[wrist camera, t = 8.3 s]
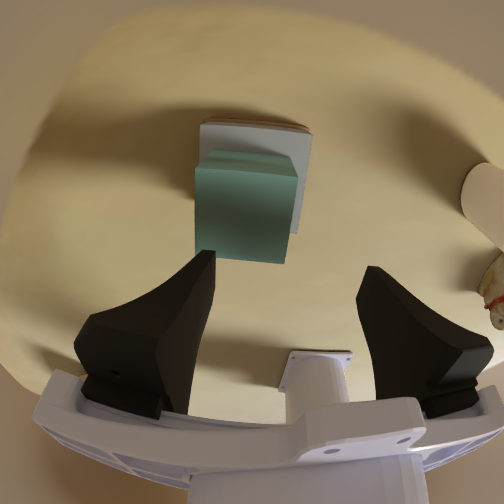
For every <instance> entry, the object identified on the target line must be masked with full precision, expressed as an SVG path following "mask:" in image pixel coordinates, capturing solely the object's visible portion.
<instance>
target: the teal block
mask: <svg viewBox="0 0 504 504" xmlns="http://www.w3.org/2000/svg"><path fill="white" fill-rule="evenodd" d="M298 178H299V177H298V175H297V173H296V170H295V168H294V165H293V163H292V161H291V158H290V157H288V156H279V155H270V154H261V153H250V152H238V151H224V150H212V151H211V152H210V153H209V154H208V155H207V156H206V157H205V158H204V159H203V160H202V161H201V163H200V164H199V165H198V166H197V167H196V168H195V255H197V254H198V253H199V252H200V251H201V250H203V249H204V250H214V251H216V258H225V259H236V260H246V261H256V262H267V263H277V264H284V262H285V257H286V251H287V245H288V240H289V234H290V228H291V222H292V216H293V210H294V203H295V197H296V191H297V184H298Z"/></svg>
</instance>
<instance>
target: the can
mask: <svg viewBox="0 0 504 504" xmlns="http://www.w3.org/2000/svg"><path fill="white" fill-rule="evenodd" d="M461 206H462V210H463V213H464V215H465V217H466V218H467V219H468V220H469V221H470V222H471V223H472V224H473V225H474V226H475V227H476V228H478V229H479V230H480V231H481V232H482V233H483V234H484V235H485V236H486V237H488V238H489V239H490V240H491V241H492V242H493V243H494V244H495V245H496V246H497V247H498V248H499V249H500V250H501V251H502V252H503V253H504V170H503V169H501V168H499V167H497V166H495V165H492V164H490V163H480V164H478V165H477V166H475V167H474V168H473V169H472V170H471V171H470V172H469V173H468V175H467V177H466V178H465V181H464V183H463V186H462V191H461Z"/></svg>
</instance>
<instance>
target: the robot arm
mask: <svg viewBox="0 0 504 504" xmlns="http://www.w3.org/2000/svg"><path fill="white" fill-rule="evenodd" d="M215 270H216V251H214V250H204V249H203V250H201V251H200V252H199V253H198V254H197V255H196V256H195V257H194V258H193V259H192V260H191V261H189V262H188V263H187V264H186V265H185V266H184V267H183V268H182V269H181V270H179V271H178V272H177V273H176V274H175V275H173V276H172V277H171V278H169V279H168V280H167V281H166V282H164V283H163V284H161V285H160V286H158V287H157V288H155V289H153V290H152V291H150V292H148V293H146V294H144V295H142V296H140V297H139V298H137V299H135V300H133V301H130V302H128V303H126V304H123V305H121V306H118V307H115V308H112V309H109V310H106V311H102V312H99V313H96V314H92V315H90V316H89V318H88V319H87V321H86V322H85V324H84V325H83V327H82V329H81V330H80V332H79V334H78V335H77V337H76V339H75V341H74V349H75V352H76V354H77V356H78V358H79V360H80V362H81V364H82V365H83V367H84V369H85V370H86V372H87V374H88V376H87V378H86V380H85V382H84V380H82V379H81V378H80V377H78V376H75V375H73V374H70V373H67V372H65V371H62V370H60V369H55V370H54V372H53V374H52V376H51V378H50V379H49V381H48V383H47V385H46V387H45V389H44V391H43V393H42V395H41V397H40V399H39V401H38V403H37V405H36V408H35V410H34V412H33V414H32V416H31V417H32V419H33V420H34V421H35V422H36V423H37V424H38V425H39V426H40V427H41V428H43V429H44V430H45V431H46V432H47V433H48V434H50V435H51V436H52V437H53V438H55V439H56V440H57V441H58V442H60V443H61V444H62V445H64V446H66V447H69V448H71V449H73V450H75V451H77V452H79V453H81V454H83V455H86V456H88V457H90V458H92V459H95V460H97V461H99V462H102V463H104V464H106V465H109V466H112V467H114V468H117V469H119V470H122V471H125V472H127V473H130V474H133V475H136V476H139V477H142V478H145V479H148V480H152V481H155V482H158V483H162V484H165V485H169V486H173V487H177V488H181V489H186V490H189V494H188V501H187V504H429V499H428V492H427V486H426V480H425V476H424V472H426V471H428V470H431V469H433V468H436V467H438V466H441V465H443V464H446V463H447V462H450V461H452V460H454V459H457V458H459V457H461V456H463V455H465V454H468V453H469V452H472V451H474V450H475V449H478V448H479V447H481V446H482V445H484V444H485V443H486V442H488V441H489V440H490V439H492V438H493V437H494V436H496V435H497V434H498V433H500V432H501V431H502V430H503V429H504V405H503V402H502V400H501V397H500V395H499V393H498V391H497V388H496V386H495V385H491V386H488V387H485V388H482V389H480V390H479V391H476V389H475V386H477V384H478V382H477V380H476V377H477V376H478V375H479V374H480V373H481V372H482V370H483V369H484V368H485V367H486V366H487V364H488V363H489V362H490V360H491V358H492V356H493V353H494V348H493V346H492V344H491V343H490V341H489V339H488V338H487V337H485V336H482V335H480V334H477V333H474V332H472V331H469V330H467V329H465V328H463V327H461V326H459V325H457V324H455V323H453V322H451V321H449V320H448V319H446V318H444V317H443V316H441V315H439V314H438V313H436V312H435V311H433V310H432V309H431V308H429V307H428V306H426V305H425V304H424V303H422V302H421V301H420V300H419V299H417V298H416V297H415V296H414V295H412V294H411V293H410V292H409V291H408V290H406V289H405V288H404V287H403V286H402V285H401V284H400V283H398V282H397V281H396V280H395V279H394V278H393V277H391V276H390V275H389V274H388V273H387V272H385V271H384V270H383V269H381V268H380V267H376V266H368V267H367V269H366V272H365V275H364V278H363V281H362V283H361V286H360V289H359V291H358V294H357V296H356V304H357V310H358V315H359V319H360V322H361V325H362V328H363V332H364V335H365V338H366V341H367V344H368V348H369V351H370V355H371V359H372V365H373V371H374V379H375V389H376V400H373V401H361V402H349V396H348V391H347V385H346V380H345V375H344V372H345V370H346V368H347V367H348V365H349V363H350V361H351V360H352V358H353V353H352V352H312V351H292V352H290V354H289V357H288V361H287V364H286V367H285V370H284V373H283V376H282V379H281V382H280V385H279V388H278V391H279V392H283V393H285V403H286V425H277V424H257V423H243V422H233V421H224V420H215V419H208V418H201V417H195V416H189V415H188V407H189V400H190V393H191V386H192V380H193V374H194V368H195V363H196V357H197V352H198V348H199V344H200V340H201V337H202V334H203V331H204V328H205V325H206V322H207V319H208V315H209V312H210V309H211V306H212V302H213V296H214V291H215Z"/></svg>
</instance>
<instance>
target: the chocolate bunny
mask: <svg viewBox="0 0 504 504" xmlns="http://www.w3.org/2000/svg"><path fill="white" fill-rule="evenodd" d="M478 292H479V294H480V296H482V297H484V302H485V306H484V308H485V309H489V311H490V319H491V322H492V325H493V326H494V328H496V329H498V330H504V253H501V254H500V255H499V256H498V258H497V259H496V260H495V261H494V262H493V263H492V264H491V266H490V267H489V268H488V270H487V271H486V272H485V274H484V276H483V278H482V281H481V282H480V285H479V288H478Z"/></svg>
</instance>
